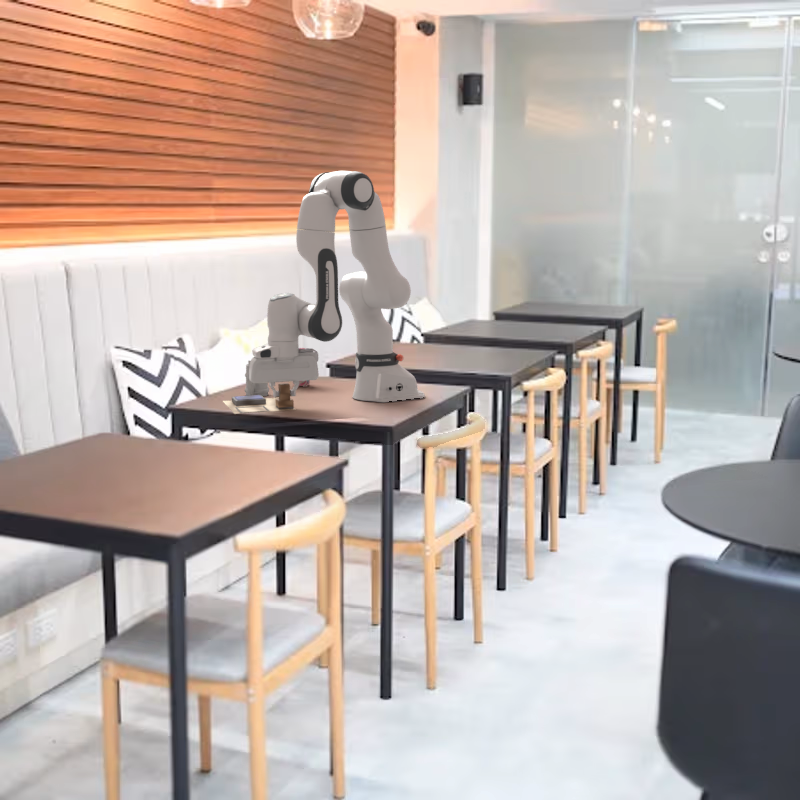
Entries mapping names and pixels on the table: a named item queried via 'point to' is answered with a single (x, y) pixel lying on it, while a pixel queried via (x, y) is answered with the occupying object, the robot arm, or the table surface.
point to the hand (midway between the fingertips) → (284, 396)
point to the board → (252, 404)
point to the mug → (255, 385)
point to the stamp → (284, 397)
